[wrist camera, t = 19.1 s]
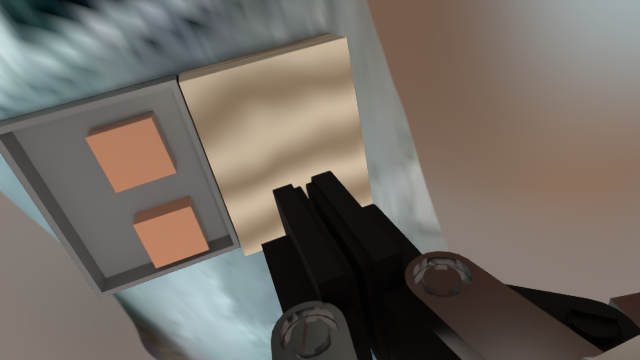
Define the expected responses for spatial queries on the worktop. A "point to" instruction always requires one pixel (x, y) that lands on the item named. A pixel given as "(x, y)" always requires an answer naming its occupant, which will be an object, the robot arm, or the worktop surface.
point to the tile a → (132, 151)
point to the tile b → (171, 231)
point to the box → (96, 190)
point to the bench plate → (278, 128)
